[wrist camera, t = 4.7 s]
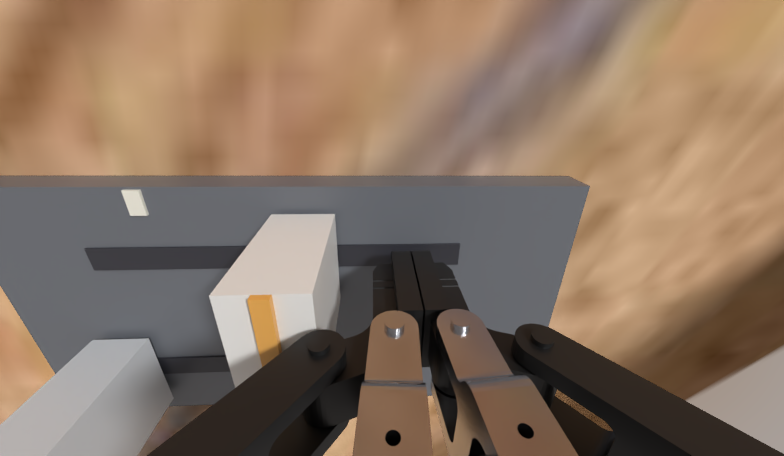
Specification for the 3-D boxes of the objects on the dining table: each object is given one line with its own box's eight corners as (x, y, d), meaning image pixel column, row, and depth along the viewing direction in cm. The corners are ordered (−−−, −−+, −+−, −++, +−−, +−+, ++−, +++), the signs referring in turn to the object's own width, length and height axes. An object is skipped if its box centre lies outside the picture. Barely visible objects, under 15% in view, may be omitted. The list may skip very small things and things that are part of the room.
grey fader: (148, 338, 14) (36, 467, 9) (173, 398, 16) (88, 533, 11) (92, 340, 14) (-51, 472, 9) (123, 400, 16) (16, 537, 11)
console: (568, 176, 14) (591, 187, 12) (517, 369, 19) (529, 393, 17) (-14, 175, 12) (-66, 188, 11) (100, 384, 17) (76, 412, 16)
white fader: (334, 213, 12) (310, 298, 7) (340, 298, 14) (323, 411, 9) (271, 214, 12) (204, 301, 7) (284, 299, 14) (238, 414, 9)
